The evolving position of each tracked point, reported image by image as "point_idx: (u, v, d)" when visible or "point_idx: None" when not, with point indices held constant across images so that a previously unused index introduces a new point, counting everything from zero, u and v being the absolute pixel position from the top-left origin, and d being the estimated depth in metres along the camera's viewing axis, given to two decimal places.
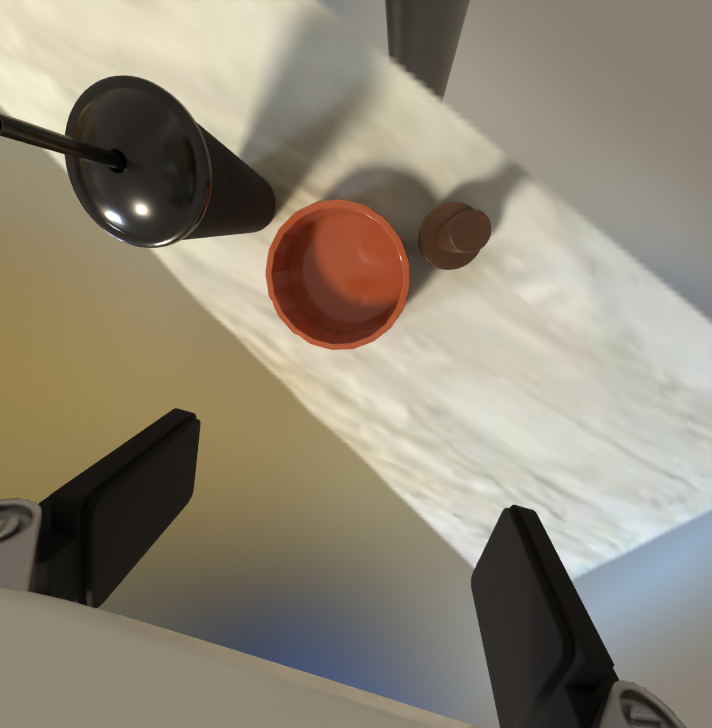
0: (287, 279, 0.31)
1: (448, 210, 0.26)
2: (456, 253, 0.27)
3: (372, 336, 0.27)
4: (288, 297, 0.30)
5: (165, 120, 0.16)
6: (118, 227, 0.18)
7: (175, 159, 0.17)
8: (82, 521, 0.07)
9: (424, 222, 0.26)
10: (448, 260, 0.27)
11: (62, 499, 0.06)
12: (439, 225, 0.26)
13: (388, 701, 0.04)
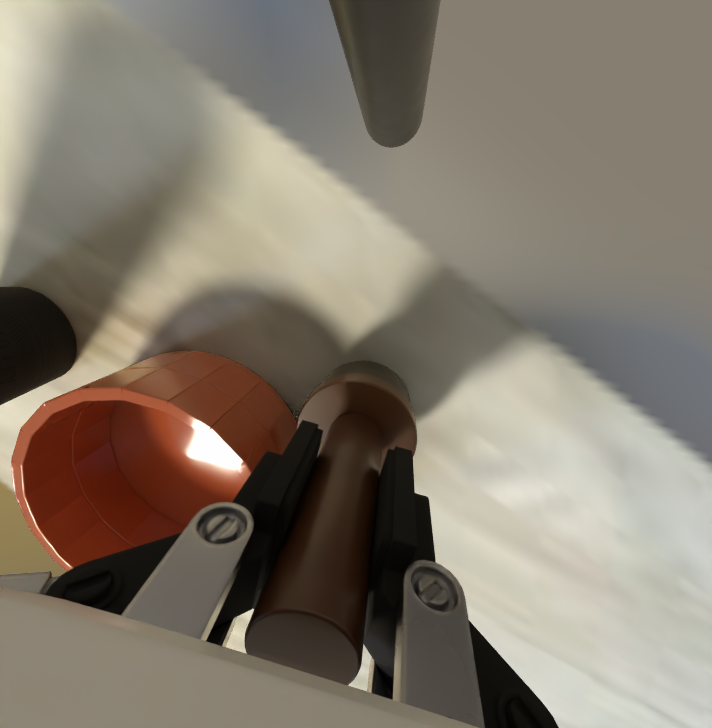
0: (101, 462, 0.18)
1: (346, 394, 0.13)
2: None
3: None
4: (98, 498, 0.18)
5: None
6: None
7: None
8: (277, 522, 0.08)
9: (303, 411, 0.14)
10: None
11: (267, 503, 0.07)
12: (331, 418, 0.14)
13: (389, 701, 0.04)
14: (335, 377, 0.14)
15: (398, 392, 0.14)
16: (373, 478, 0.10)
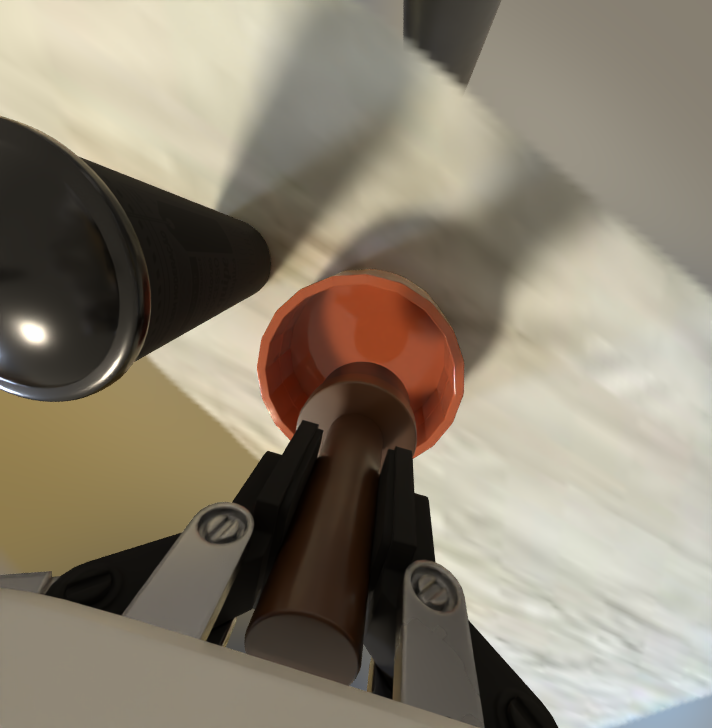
0: (287, 362, 0.23)
1: (346, 395, 0.13)
2: None
3: None
4: (289, 388, 0.22)
5: (49, 199, 0.08)
6: None
7: (72, 271, 0.09)
8: (277, 522, 0.08)
9: (303, 412, 0.14)
10: None
11: (267, 503, 0.07)
12: (331, 419, 0.14)
13: (389, 701, 0.04)
14: (335, 378, 0.14)
15: (398, 393, 0.14)
16: (373, 478, 0.10)
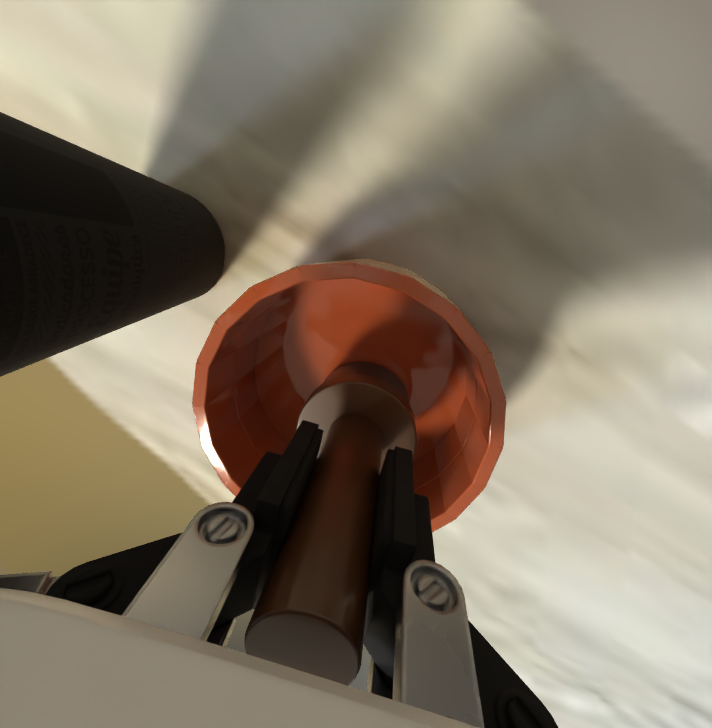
0: (249, 388, 0.16)
1: (346, 395, 0.13)
2: None
3: None
4: (249, 426, 0.16)
5: None
6: None
7: None
8: (277, 522, 0.08)
9: (303, 412, 0.14)
10: None
11: (268, 503, 0.07)
12: (331, 419, 0.14)
13: (389, 701, 0.04)
14: (335, 378, 0.14)
15: (398, 393, 0.14)
16: (373, 478, 0.10)
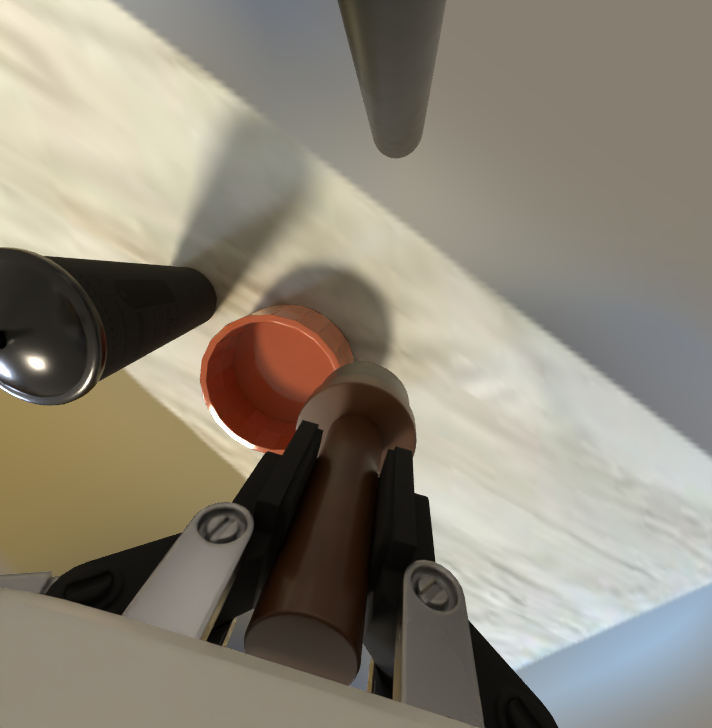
0: (230, 374, 0.30)
1: (345, 396, 0.13)
2: None
3: None
4: (230, 394, 0.29)
5: (47, 295, 0.15)
6: (12, 388, 0.17)
7: (60, 333, 0.16)
8: (277, 522, 0.08)
9: (303, 413, 0.14)
10: None
11: (267, 503, 0.07)
12: (331, 419, 0.14)
13: (389, 701, 0.04)
14: (335, 378, 0.14)
15: (398, 394, 0.14)
16: (373, 479, 0.10)
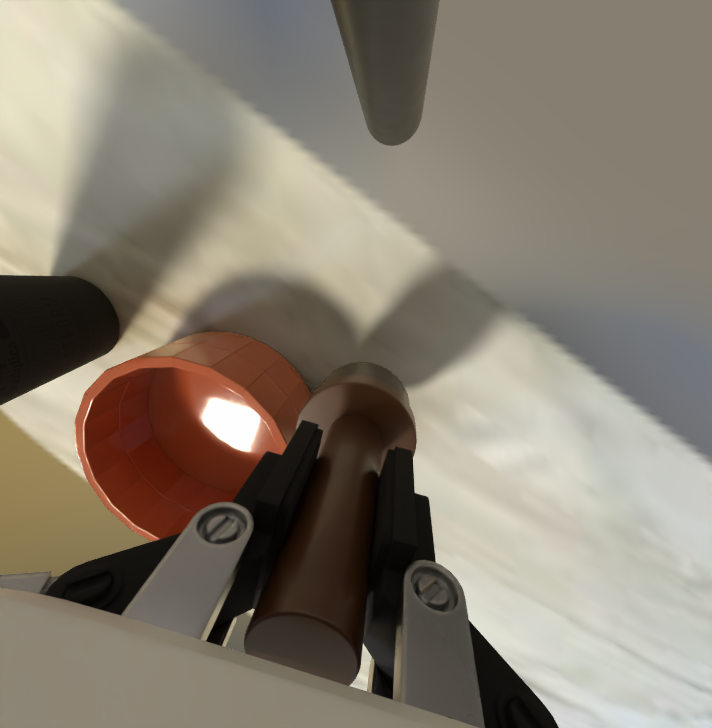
0: (141, 429, 0.21)
1: (345, 396, 0.13)
2: None
3: None
4: (139, 459, 0.20)
5: None
6: None
7: None
8: (277, 522, 0.08)
9: (303, 413, 0.14)
10: None
11: (267, 503, 0.07)
12: (331, 419, 0.14)
13: (389, 701, 0.04)
14: (335, 379, 0.14)
15: (398, 394, 0.14)
16: (373, 479, 0.10)
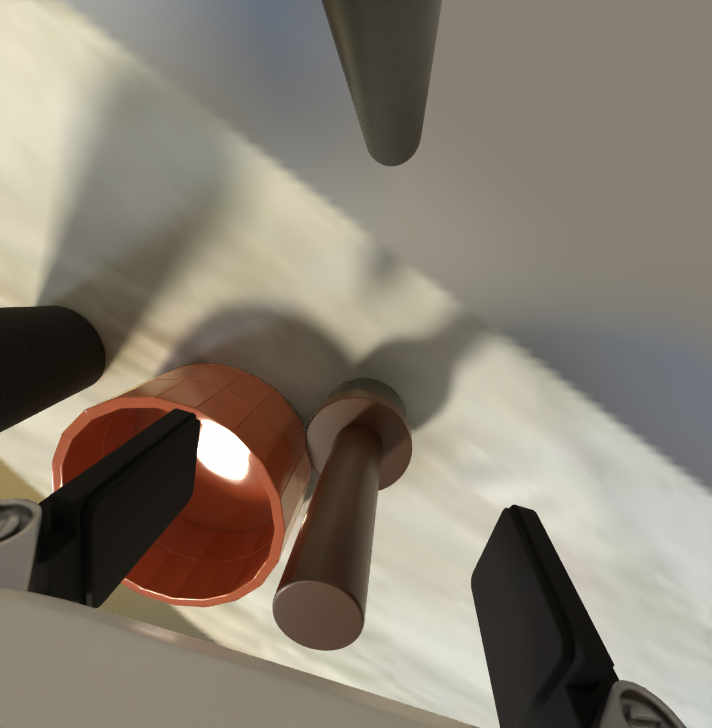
0: None
1: (350, 409, 0.15)
2: None
3: (234, 594, 0.17)
4: None
5: None
6: None
7: None
8: (82, 521, 0.07)
9: (312, 423, 0.16)
10: None
11: (62, 499, 0.06)
12: (337, 429, 0.15)
13: (389, 701, 0.04)
14: (340, 393, 0.16)
15: (395, 407, 0.15)
16: (373, 481, 0.12)
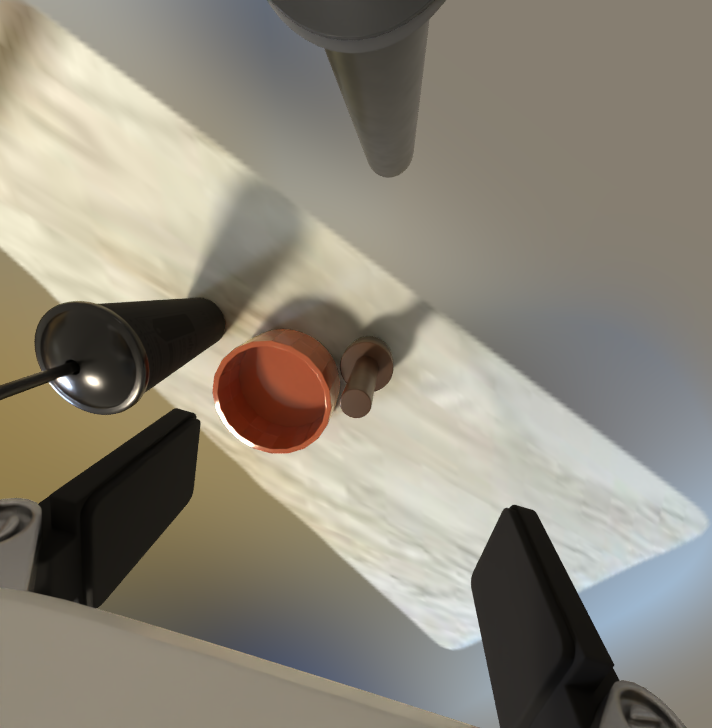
0: (236, 386, 0.36)
1: (362, 348, 0.31)
2: None
3: (303, 444, 0.33)
4: (236, 403, 0.35)
5: (109, 337, 0.21)
6: (77, 402, 0.23)
7: (118, 363, 0.22)
8: (82, 521, 0.07)
9: (343, 356, 0.31)
10: None
11: (62, 499, 0.06)
12: (356, 359, 0.31)
13: (388, 701, 0.04)
14: (357, 341, 0.32)
15: (385, 347, 0.31)
16: (374, 374, 0.28)
